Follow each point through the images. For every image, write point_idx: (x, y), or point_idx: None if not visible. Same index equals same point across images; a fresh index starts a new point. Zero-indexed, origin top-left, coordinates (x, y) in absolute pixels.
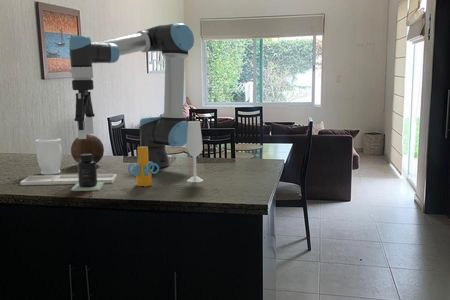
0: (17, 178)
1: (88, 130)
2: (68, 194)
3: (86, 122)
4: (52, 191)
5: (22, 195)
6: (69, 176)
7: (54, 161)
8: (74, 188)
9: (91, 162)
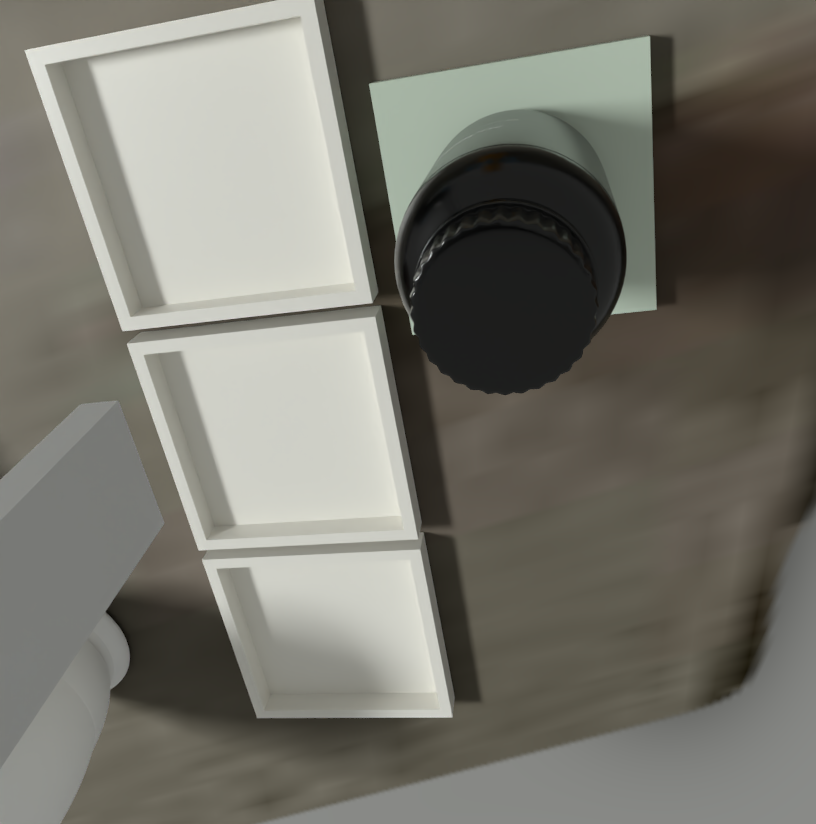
0: (261, 763)
1: (115, 524)
2: (783, 286)
3: (28, 689)
4: (654, 448)
5: (763, 602)
6: (189, 473)
7: None
8: (642, 287)
9: (566, 192)
